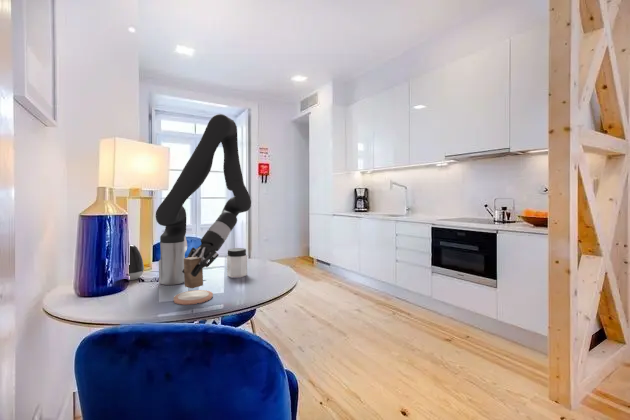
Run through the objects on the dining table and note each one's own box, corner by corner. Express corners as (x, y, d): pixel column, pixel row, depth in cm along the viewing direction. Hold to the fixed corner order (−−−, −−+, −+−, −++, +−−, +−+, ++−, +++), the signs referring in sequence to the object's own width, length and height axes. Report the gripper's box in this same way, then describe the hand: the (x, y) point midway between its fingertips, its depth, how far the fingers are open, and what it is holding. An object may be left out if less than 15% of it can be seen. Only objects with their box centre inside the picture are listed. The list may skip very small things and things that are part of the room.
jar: (225, 274, 146) (224, 249, 146) (241, 272, 151) (241, 247, 151) (232, 279, 139) (231, 251, 139) (249, 276, 144) (249, 249, 143)
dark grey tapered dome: (112, 279, 139) (111, 245, 138) (137, 274, 147) (136, 242, 147) (124, 283, 133) (122, 247, 132) (148, 278, 142) (147, 244, 141)
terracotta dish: (165, 303, 108) (165, 300, 108) (187, 292, 121) (187, 288, 121) (200, 305, 106) (200, 302, 106) (219, 293, 118) (219, 290, 118)
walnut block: (184, 286, 112) (183, 258, 112) (195, 283, 116) (194, 256, 115) (192, 288, 110) (191, 259, 109) (203, 285, 113) (202, 257, 113)
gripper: (198, 228, 122) (169, 266, 113) (222, 230, 114) (193, 271, 105) (210, 240, 127) (183, 277, 117) (234, 243, 119) (208, 283, 109)
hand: (188, 274), depth 111 cm, fingers closed on walnut block, 4 cm apart
